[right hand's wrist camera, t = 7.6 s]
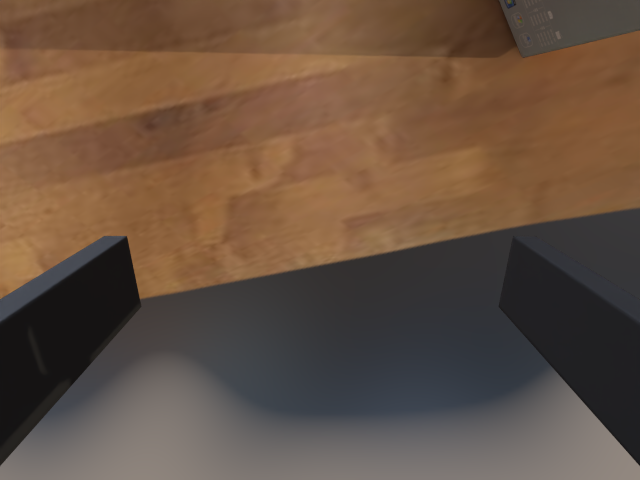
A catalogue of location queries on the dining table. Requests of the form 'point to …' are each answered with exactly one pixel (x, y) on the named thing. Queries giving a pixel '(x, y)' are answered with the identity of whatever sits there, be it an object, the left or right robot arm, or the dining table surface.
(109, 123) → the dining table surface
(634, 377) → the right robot arm
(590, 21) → the hard drive box
